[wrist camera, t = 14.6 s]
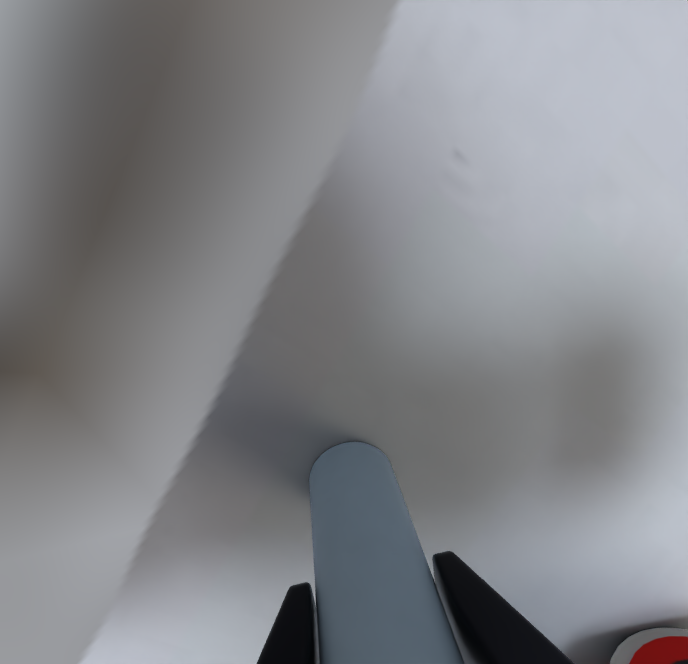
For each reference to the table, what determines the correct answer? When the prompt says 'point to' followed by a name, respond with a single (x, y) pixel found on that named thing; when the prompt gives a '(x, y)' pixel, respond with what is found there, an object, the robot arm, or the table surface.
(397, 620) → the tube grey
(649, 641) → the toy hammer
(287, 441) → the table surface
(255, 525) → the table surface
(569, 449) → the table surface
